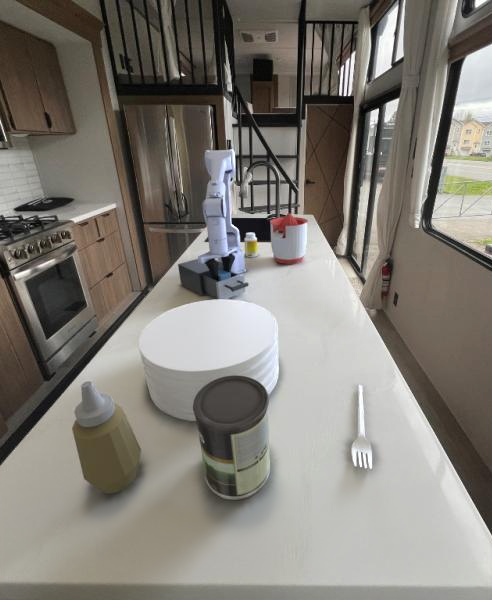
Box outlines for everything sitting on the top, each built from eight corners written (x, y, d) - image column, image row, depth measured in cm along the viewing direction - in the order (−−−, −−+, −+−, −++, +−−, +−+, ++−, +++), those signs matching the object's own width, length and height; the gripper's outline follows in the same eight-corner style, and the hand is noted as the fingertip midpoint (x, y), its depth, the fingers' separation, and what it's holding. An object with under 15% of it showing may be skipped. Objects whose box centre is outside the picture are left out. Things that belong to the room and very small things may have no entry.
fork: (368, 388, 66) (369, 381, 65) (373, 478, 48) (374, 469, 48) (352, 386, 67) (352, 379, 66) (350, 473, 49) (351, 465, 48)
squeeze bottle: (156, 461, 52) (133, 371, 44) (120, 509, 45) (84, 413, 37) (116, 447, 54) (87, 360, 47) (76, 492, 48) (34, 398, 40)
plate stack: (184, 334, 87) (178, 295, 82) (287, 344, 81) (287, 303, 76) (120, 410, 62) (106, 361, 57) (262, 432, 57) (259, 380, 52)
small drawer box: (229, 286, 116) (227, 264, 112) (201, 296, 109) (198, 273, 105) (208, 276, 125) (205, 256, 121) (181, 285, 118) (177, 264, 114)
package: (222, 278, 110) (221, 269, 109) (231, 282, 107) (230, 272, 106) (212, 282, 108) (211, 272, 106) (221, 286, 105) (220, 276, 103)
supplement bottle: (260, 255, 146) (259, 233, 142) (250, 258, 143) (248, 235, 139) (252, 253, 150) (251, 231, 146) (243, 255, 147) (241, 233, 143)
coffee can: (201, 504, 46) (187, 432, 39) (208, 443, 55) (197, 377, 49) (274, 497, 46) (271, 425, 40) (268, 438, 55) (265, 372, 49)
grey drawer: (254, 296, 105) (253, 278, 103) (228, 306, 99) (227, 287, 96) (223, 282, 117) (221, 265, 114) (198, 290, 110) (196, 273, 108)
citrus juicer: (261, 263, 137) (259, 215, 128) (283, 252, 150) (283, 208, 141) (292, 270, 129) (293, 219, 120) (313, 258, 142) (315, 211, 133)
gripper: (204, 245, 94) (209, 288, 100) (243, 235, 103) (246, 275, 109) (192, 241, 99) (197, 282, 104) (230, 232, 107) (233, 270, 113)
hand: (221, 278), depth 107 cm, fingers closed on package, 4 cm apart
